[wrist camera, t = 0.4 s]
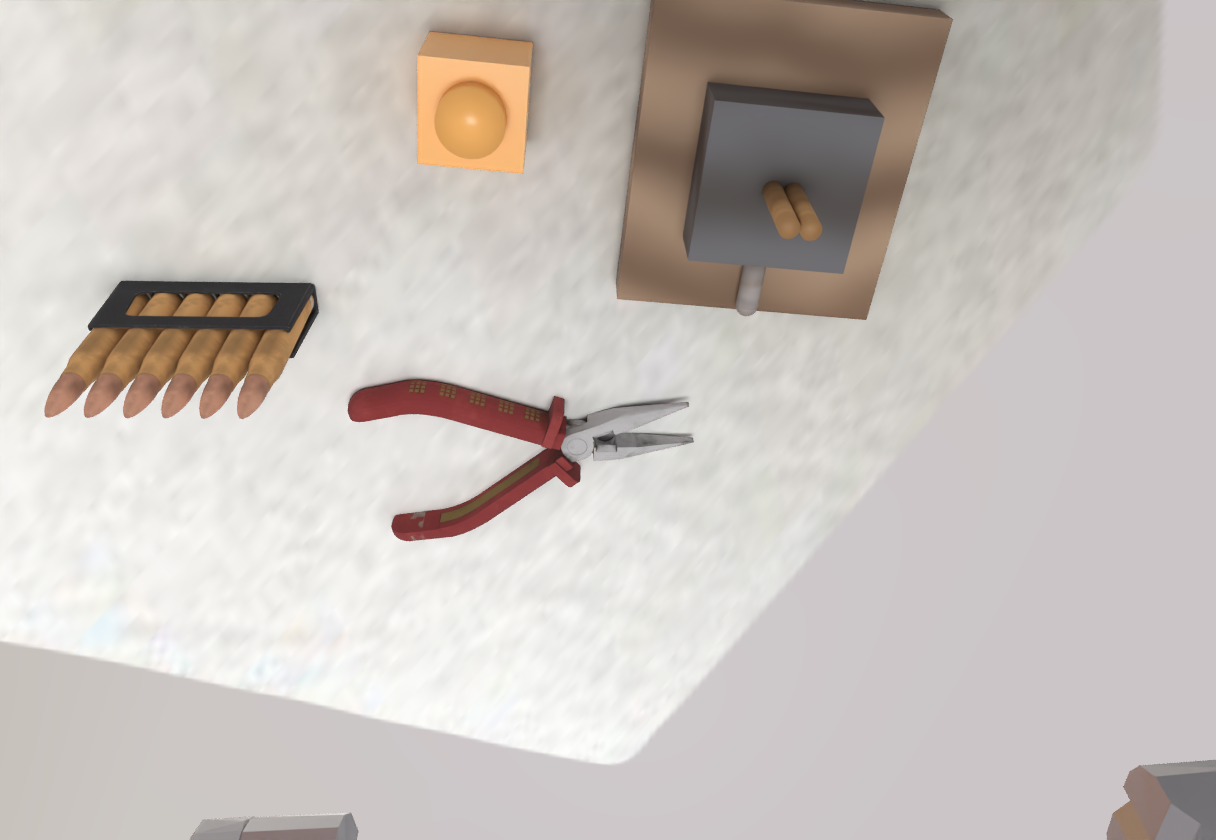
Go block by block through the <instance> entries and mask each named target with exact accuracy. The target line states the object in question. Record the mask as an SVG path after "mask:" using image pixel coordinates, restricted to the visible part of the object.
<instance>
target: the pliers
mask: <svg viewBox="0 0 1216 840" xmlns="http://www.w3.org/2000/svg"><path fill="white" fill-rule="evenodd" d="M686 407H689V403H688V402H681V403H669V404H656V405H644V406H632V407H620V408H612V409H607V410H603V411H599V412H595V413H592V414H589V415H587V422H586V421H583V420H566V417H565V416H564V399H562V398H559V397H555V396H554V398H553V401H552V403H551V406H550V408H549V411H548V412H544V411H541V410H537V409H534V408H530V407H527V406H523V405H520V404H516V403H513V402H509V401H506V400H503V399H499V398H496V397H492V396H489V395H485V394H482V393H478V392H475V391H471V390H468V389H464V388H461V387H457V386H454V385H449V384H445V383H439V382H433V381H425V380H408V381H403V382H398V383H393V384H388V385H383V386H378V387H373V388H368V389H363V390H360V391H358V392H357V393H355V394H354V395H353V396H352V398H351V399H350V401H349V404H348V414H349V417H350V419H351V420H352V421H355V422H365V421H371V420H376V419H382V418H387V417H393V416H398V415H404V414H423V415H431V416H437V417H442V418H446V419H450V420H453V421H457V422H460V423H464V424H467V425H471V426H475V427H478V428H482V429H485V430H489V431H492V432H496V433H499V434H503V435H507V436H510V437H514V438H517V439H521V440H524V441H528V442H532V443H535V444H539V445H541V446H542V447H545V448H547V449H545V450H544V451H542V452H541V453H539V454H538V455H536V456H535V457H533V458H532V459H530V460H529V461H528V462H526V463H525V464H523V465H522V466H520V467H519V468H517V469H516V470H514V471H513V472H511V473H510V474H509V475H507V476H506V477H504V478H503V479H501V480H500V481H498V482H497V483H495V484H494V485H492V486H491V487H489V488H488V489H487V490H485V491H484V492H482V493H481V494H479V495H478V496H476V497H474V498H473V499H471V500H469V501H467V502H465V503H462V504H460V505H457V506H454V507H450V508H446V509H440V510H432V511H423V512H415V513H407V514H400V515H396V516H395V517H394V519H393V522H392V530H393V533H394V535H395V536H396V537H397V538H399V539H401V540H404V541H415V540H425V539H434V538H444V537H453V536H457V535H460V534H464V533H466V532H468V531H471V530H473V529H475V528H477V527H479V526H481V525H483V524H484V523H486V522H488V521H489V520H491V519H492V518H494V517H495V516H497V515H498V514H500V513H501V512H503V511H504V510H506V509H507V508H509V507H510V506H512V505H513V504H515V503H516V502H518V501H519V500H521V499H522V498H524V497H525V496H527V495H528V494H530V493H531V492H533V491H534V490H536V489H537V488H539V487H540V486H542V485H543V484H545V483H546V482H548V481H549V480H551V479H552V478H554V477H555V476H557V477H558V478H559V479H560V480H561V481H562V482H563V483H564V484H565V485H567V486H568V487H572V486H574V485H575V484H577V483H578V482H580V465H579V464H578V463H577V462H576V461H579V460H582V459H585V458H587V457H589V456H590V455H591V453H593V458H594V461H603V460H615V459H623V458H627V457H632V456H636V455H640V454H645V453H649V452H653V451H658V450H662V449H666V448H671V447H675V446H680V445H684V444H688V443H693V442H694V441H693V438H689V437H677V436H665V435H653V434H642V433H623V432H626V431H629V430H632V429H635V428H637V427H640V426H642V425H645V424H647V423H649V422H652V421H654V420H657V419H659V418H662V417H664V416H667V415H669V414H671V413H674V412H676V411H679V410H681V409H684V408H686ZM613 432H614V434H615V436H614V437H613V438H612V439H611V440H609V441H601V440H599V439H597V437H600V436H604V435H607V434H610V433H613Z"/></svg>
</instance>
